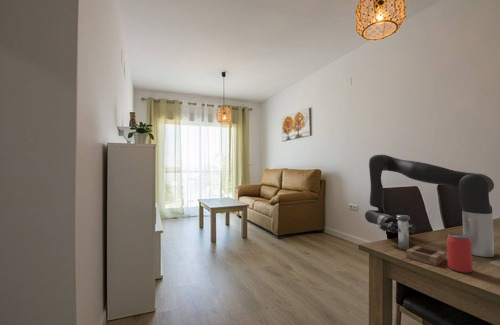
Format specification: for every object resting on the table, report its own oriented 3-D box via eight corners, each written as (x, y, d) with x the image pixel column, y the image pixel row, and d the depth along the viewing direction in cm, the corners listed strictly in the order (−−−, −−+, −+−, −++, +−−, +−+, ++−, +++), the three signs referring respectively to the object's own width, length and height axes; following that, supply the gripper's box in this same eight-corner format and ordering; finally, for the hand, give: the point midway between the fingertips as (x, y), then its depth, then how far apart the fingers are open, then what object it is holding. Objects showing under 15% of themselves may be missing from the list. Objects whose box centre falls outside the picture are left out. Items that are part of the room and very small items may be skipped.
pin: (400, 245, 111) (399, 214, 112) (412, 248, 107) (411, 216, 108) (394, 247, 109) (393, 215, 109) (407, 250, 104) (406, 217, 105)
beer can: (463, 274, 81) (462, 239, 81) (443, 267, 87) (441, 233, 87) (477, 272, 82) (475, 237, 83) (456, 264, 89) (455, 232, 89)
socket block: (417, 252, 102) (417, 245, 102) (446, 259, 94) (446, 252, 94) (406, 257, 96) (406, 250, 97) (436, 265, 88) (435, 257, 88)
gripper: (373, 215, 124) (387, 222, 108) (402, 215, 122) (421, 222, 106) (373, 229, 124) (388, 239, 108) (403, 230, 122) (422, 239, 106)
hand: (404, 230), depth 107 cm, fingers open, 8 cm apart
